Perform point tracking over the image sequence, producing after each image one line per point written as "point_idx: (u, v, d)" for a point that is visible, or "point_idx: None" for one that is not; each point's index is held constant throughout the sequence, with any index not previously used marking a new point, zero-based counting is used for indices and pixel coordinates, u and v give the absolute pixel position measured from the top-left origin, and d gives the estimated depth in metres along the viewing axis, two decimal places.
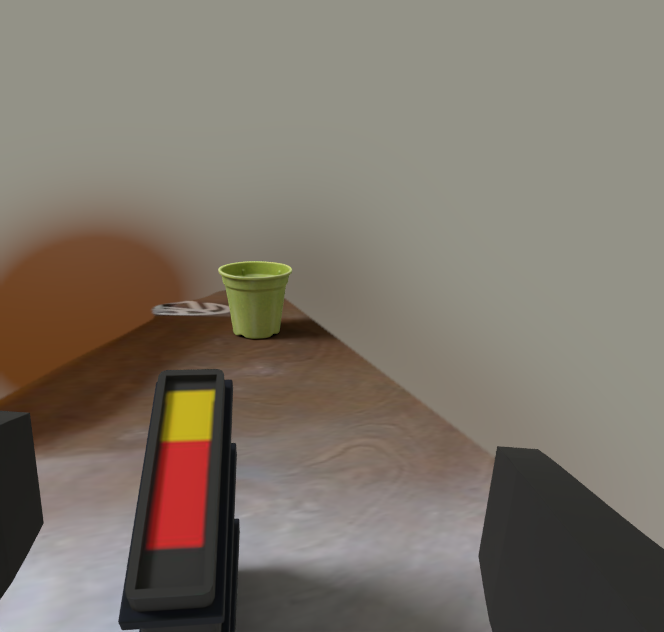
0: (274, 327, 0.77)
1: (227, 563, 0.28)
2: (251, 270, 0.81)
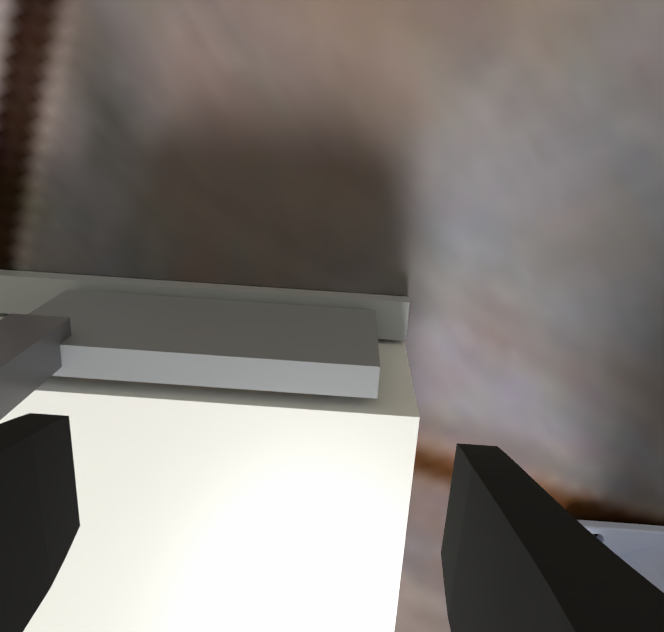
0: None
1: None
2: None
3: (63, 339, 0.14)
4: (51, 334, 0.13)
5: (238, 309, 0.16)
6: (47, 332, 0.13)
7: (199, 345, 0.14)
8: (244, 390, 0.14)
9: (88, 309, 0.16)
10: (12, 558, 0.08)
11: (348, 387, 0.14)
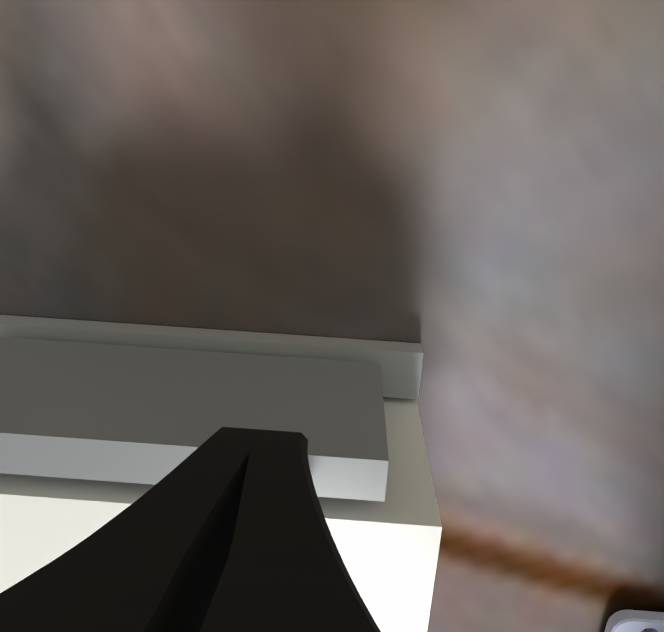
0: None
1: None
2: None
3: None
4: None
5: (206, 365, 0.13)
6: None
7: (145, 427, 0.10)
8: None
9: (11, 368, 0.12)
10: None
11: (345, 487, 0.10)
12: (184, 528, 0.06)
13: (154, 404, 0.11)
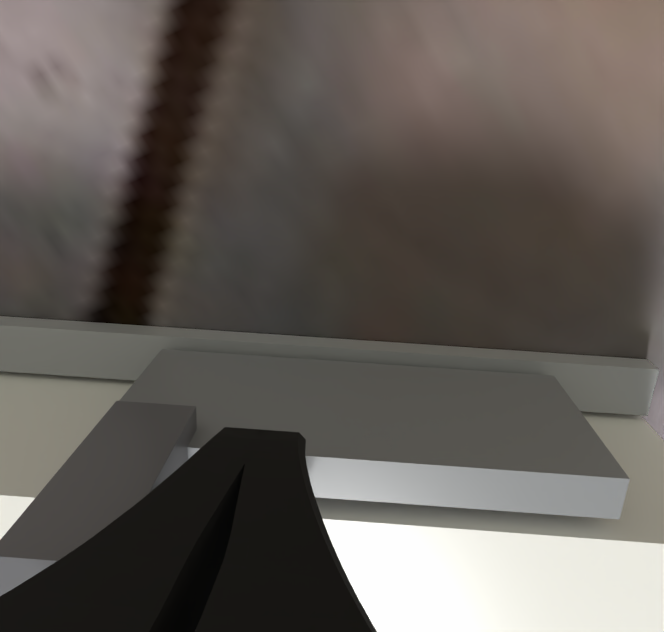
0: None
1: None
2: None
3: (190, 438, 0.10)
4: (181, 437, 0.09)
5: (387, 378, 0.13)
6: (177, 436, 0.09)
7: (371, 443, 0.10)
8: None
9: (201, 382, 0.12)
10: None
11: (581, 505, 0.10)
12: (188, 528, 0.06)
13: (364, 420, 0.11)
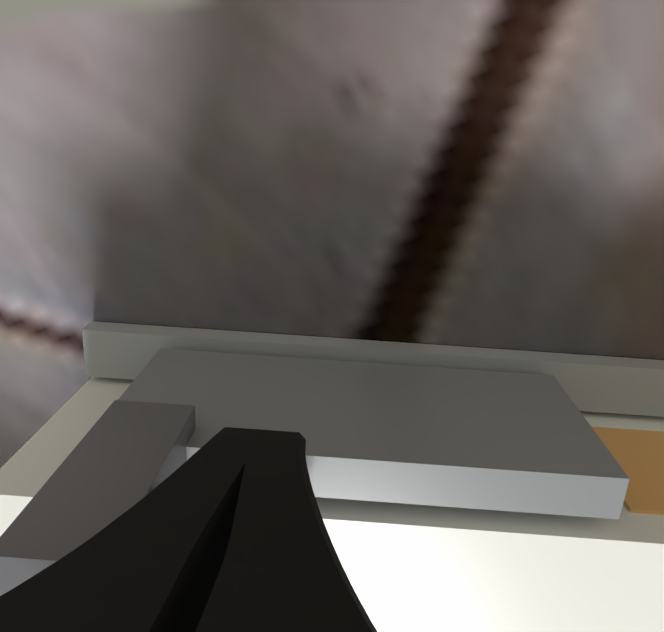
0: None
1: None
2: None
3: (189, 437, 0.10)
4: (180, 437, 0.09)
5: (386, 377, 0.13)
6: (176, 435, 0.09)
7: (370, 443, 0.10)
8: None
9: (200, 381, 0.12)
10: None
11: (581, 504, 0.10)
12: (188, 528, 0.06)
13: (363, 419, 0.11)
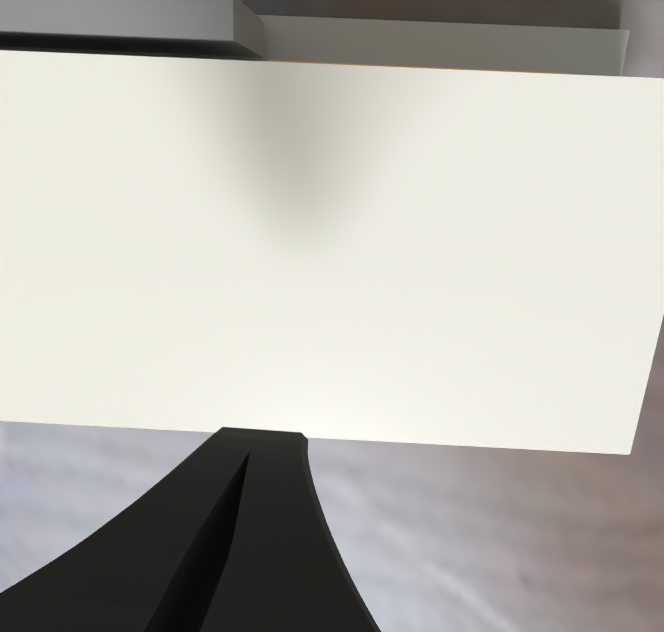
0: None
1: None
2: None
3: None
4: None
5: None
6: None
7: None
8: None
9: None
10: None
11: (197, 25, 0.11)
12: (184, 528, 0.06)
13: None
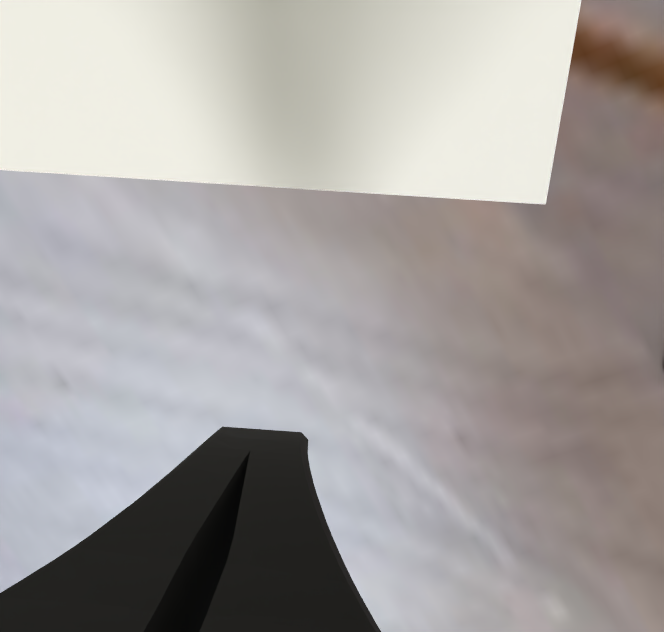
0: None
1: None
2: None
3: None
4: None
5: None
6: None
7: None
8: None
9: None
10: None
11: None
12: (184, 528, 0.06)
13: None
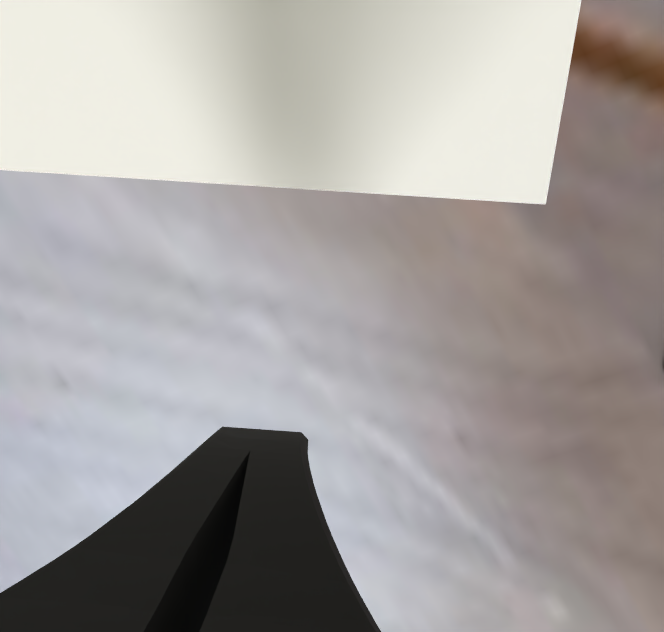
0: None
1: None
2: None
3: None
4: None
5: None
6: None
7: None
8: None
9: None
10: None
11: None
12: (184, 528, 0.06)
13: None
